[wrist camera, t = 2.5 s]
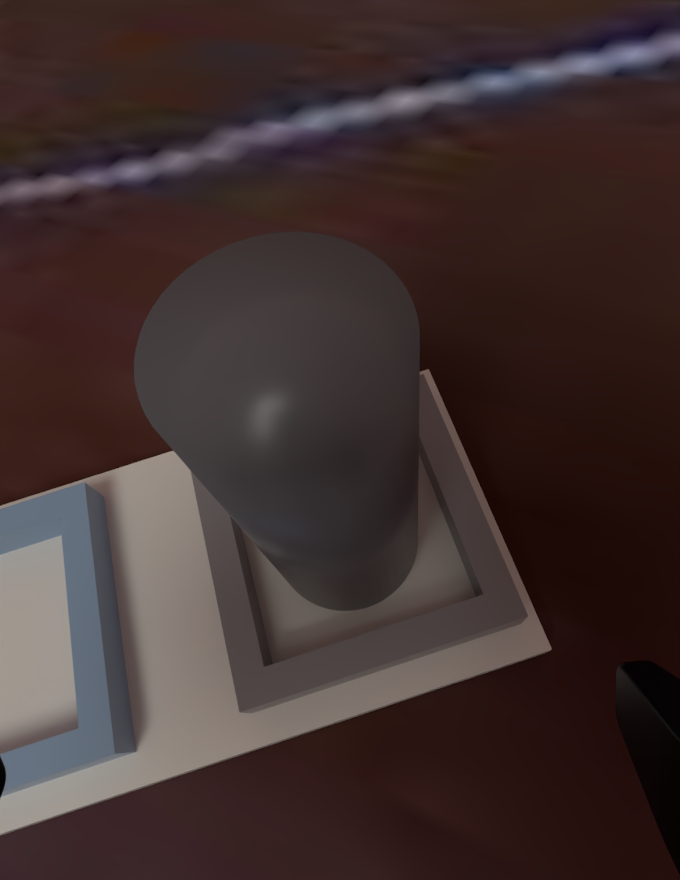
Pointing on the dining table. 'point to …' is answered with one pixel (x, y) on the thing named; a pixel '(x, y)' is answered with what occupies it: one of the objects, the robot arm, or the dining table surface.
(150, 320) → the grey cylinder
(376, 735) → the dining table surface
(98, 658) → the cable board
